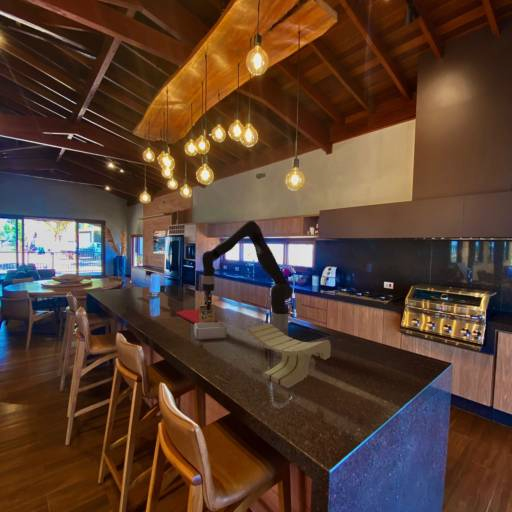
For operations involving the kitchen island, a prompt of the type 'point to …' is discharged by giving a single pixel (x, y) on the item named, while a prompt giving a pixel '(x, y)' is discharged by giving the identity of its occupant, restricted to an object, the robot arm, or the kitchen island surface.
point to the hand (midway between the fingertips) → (207, 308)
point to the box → (210, 330)
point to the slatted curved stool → (288, 354)
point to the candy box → (206, 314)
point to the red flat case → (191, 315)
